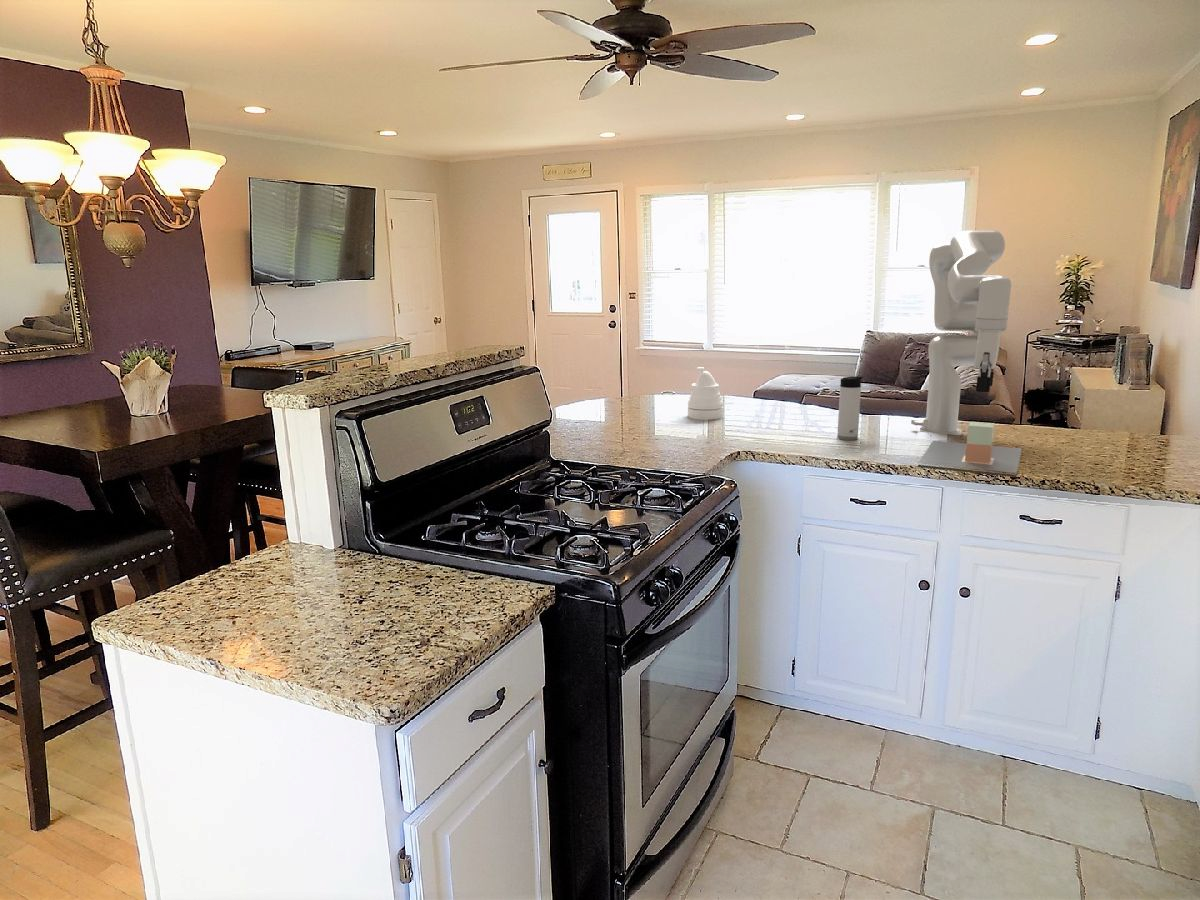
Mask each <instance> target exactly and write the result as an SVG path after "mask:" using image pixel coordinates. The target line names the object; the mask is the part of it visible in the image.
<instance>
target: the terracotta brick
mask: <svg viewBox="0 0 1200 900" xmlns="http://www.w3.org/2000/svg"><path fill="white" fill-rule="evenodd" d="M966 444H967V443H966ZM992 446H993V443H992V444H991V446H990V445H978V444H967V445H966V455H965V461H968V462H978V463H990V459H991V451H992Z"/></svg>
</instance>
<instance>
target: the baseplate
mask: <svg viewBox="0 0 1200 900" xmlns="http://www.w3.org/2000/svg"><path fill="white" fill-rule="evenodd" d="M966 445H967V443H964V442H963V443H962V442H953V441H952V442H951V441H941V440H932V442H931V443H930V445H929V446H928V448H927V449H926V451H925V452H924V453H923V455H922V456H921V458H920V459H919V461H918V464H917V467H918V468H923V469H924V468H925V469H934V470H942V471H943V470H945V471H953V472H962V473H971V474H972V473H973V474H982V475H992V476H998V477H999V476H1001V477H1011V478H1012V477H1013V478H1017V476H1018V472H1017V471H1018V469H1019V466H1020V465H1019V464H1020V459H1021V454H1022V450H1023V449H1022V448H1020V447H1008V446H997V445H992V451H991V459H990V463H978V462H968V461H965V455H966ZM926 464H927V465H926ZM934 465H935V466H934ZM964 468H965V469H964ZM973 469H974V470H973ZM975 469H976V470H975ZM983 470H985V471H983ZM991 471H993V472H991ZM1002 472H1004V473H1002ZM1011 473H1012V474H1011ZM1013 473H1014V474H1013Z"/></svg>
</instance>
